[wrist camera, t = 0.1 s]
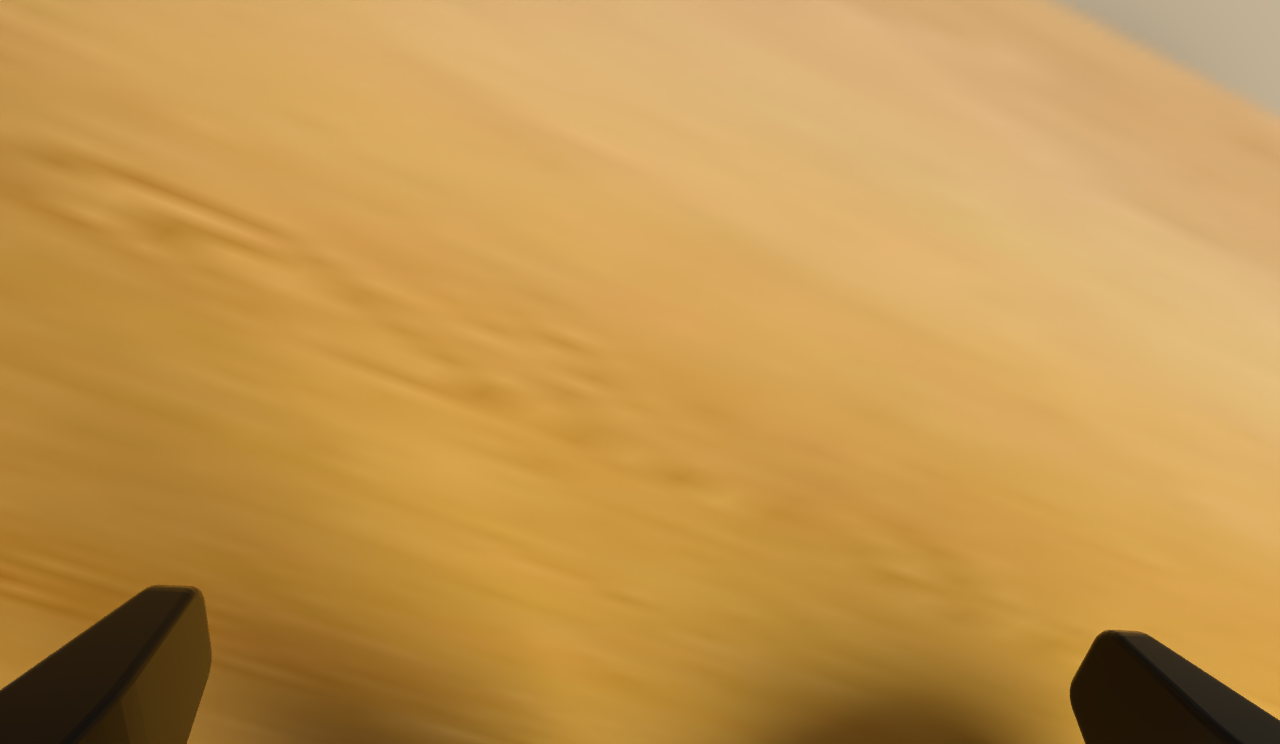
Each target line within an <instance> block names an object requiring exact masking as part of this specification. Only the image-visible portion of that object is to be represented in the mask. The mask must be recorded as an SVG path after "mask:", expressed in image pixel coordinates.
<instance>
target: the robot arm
mask: <svg viewBox="0 0 1280 744" xmlns="http://www.w3.org/2000/svg"><path fill="white" fill-rule="evenodd" d="M211 654H212V653H211V644H210V636H209V629H208V622H207V615H206V607H205V600H204V597H203V594H202V592H201V591H200V590H199V589H198V588H195V587H192V586H170V585H155V586H151V587H148V588H146V589H144V590H143V591H141V592H140V593H138V594H137V595H135V596H134V597H132V598H131V599H130V600H128V601H127V602H125V603H124V604H122V605H121V606H120V607H118V608H117V609H115V610H114V611H112V612H111V613H110V614H108V615H107V616H105V617H104V618H102V619H101V620H100V621H98V622H97V623H95V624H94V625H93V626H91V627H90V628H88V629H87V630H85V631H84V632H83V633H81V634H80V635H78V636H77V637H75V638H74V639H73V640H71V641H70V642H68V643H67V644H65V645H64V646H63V647H61V648H60V649H58V650H57V651H55V652H54V653H53V654H51V655H50V656H48V657H47V658H45V659H44V660H43V661H41V662H40V663H38V664H37V665H35V666H34V667H33V668H31V669H30V670H28V671H27V672H25V673H24V674H23V675H21V676H20V677H18V678H17V679H16V680H14V681H13V682H11V683H10V684H8V685H7V686H6V687H4V688H3V689H1V690H0V744H187V741H188V738H189V735H190V732H191V728H192V725H193V722H194V719H195V716H196V713H197V710H198V707H199V704H200V701H201V698H202V695H203V692H204V689H205V685H206V682H207V679H208V676H209V671H210V666H211ZM1070 701H1071V705H1072V709H1073V712H1074V714H1075V717H1076V720H1077V722H1078V725H1079V728H1080V730H1081V733H1082V736H1083V738H1084V741H1085V744H1280V720H1278V719H1277V718H1275V717H1273V716H1272V715H1270V714H1269V713H1267V712H1266V711H1264V710H1263V709H1261V708H1260V707H1258V706H1257V705H1255V704H1254V703H1252V702H1250V701H1249V700H1247V699H1246V698H1244V697H1243V696H1241V695H1240V694H1238V693H1237V692H1235V691H1234V690H1232V689H1231V688H1229V687H1227V686H1226V685H1224V684H1223V683H1221V682H1220V681H1218V680H1217V679H1215V678H1214V677H1212V676H1211V675H1209V674H1208V673H1206V672H1204V671H1203V670H1201V669H1200V668H1198V667H1197V666H1195V665H1194V664H1192V663H1191V662H1189V661H1188V660H1186V659H1185V658H1183V657H1182V656H1180V655H1178V654H1177V653H1175V652H1174V651H1172V650H1171V649H1169V648H1168V647H1166V646H1165V645H1163V644H1162V643H1160V642H1159V641H1157V640H1155V639H1154V638H1152V637H1151V636H1149V635H1147V634H1145V633H1142V632H1138V631H1123V630H1107V631H1103V632H1102V633H1100V634H1099V635H1098V636H1097V637H1096V638H1095V640H1094V642H1093V643H1092V645H1091V647H1090V649H1089V651H1088V652H1087V654H1086V656H1085V658H1084V660H1083V661H1082V663H1081V665H1080V667H1079V669H1078V671H1077V672H1076V674H1075V676H1074V678H1073V680H1072V682H1071V686H1070Z"/></svg>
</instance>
